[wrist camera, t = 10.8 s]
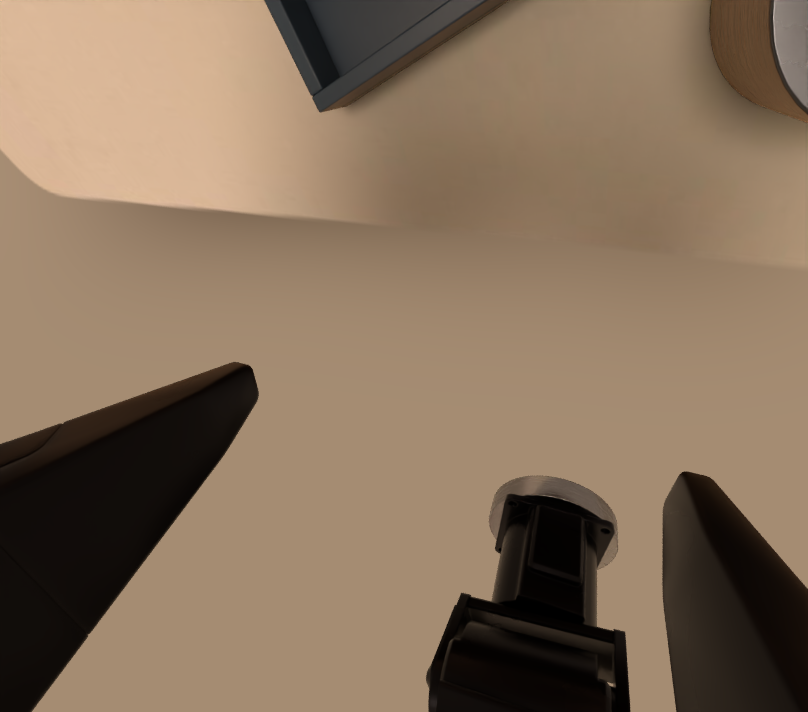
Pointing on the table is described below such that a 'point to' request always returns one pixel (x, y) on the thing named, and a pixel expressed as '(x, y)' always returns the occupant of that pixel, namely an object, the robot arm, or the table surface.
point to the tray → (366, 39)
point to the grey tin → (764, 51)
